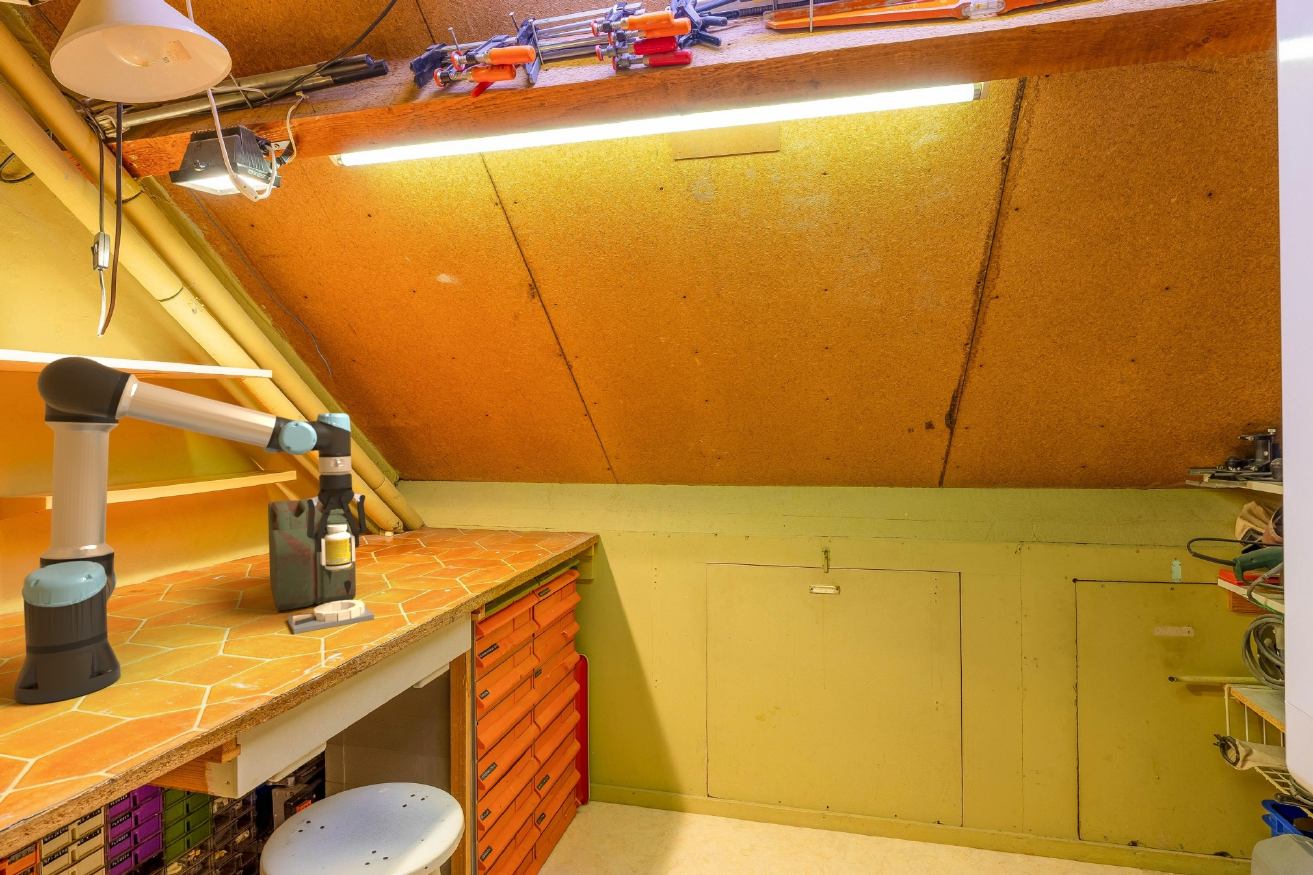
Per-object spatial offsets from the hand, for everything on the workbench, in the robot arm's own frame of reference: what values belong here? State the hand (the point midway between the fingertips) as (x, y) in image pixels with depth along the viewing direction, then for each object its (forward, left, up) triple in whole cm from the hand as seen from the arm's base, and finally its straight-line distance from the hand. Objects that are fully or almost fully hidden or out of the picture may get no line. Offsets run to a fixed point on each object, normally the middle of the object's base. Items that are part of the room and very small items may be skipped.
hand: (338, 562), depth 162 cm
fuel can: (-2, +30, -15) cm, 34 cm away
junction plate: (-2, 0, -15) cm, 15 cm away
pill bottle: (0, 0, -2) cm, 2 cm away
